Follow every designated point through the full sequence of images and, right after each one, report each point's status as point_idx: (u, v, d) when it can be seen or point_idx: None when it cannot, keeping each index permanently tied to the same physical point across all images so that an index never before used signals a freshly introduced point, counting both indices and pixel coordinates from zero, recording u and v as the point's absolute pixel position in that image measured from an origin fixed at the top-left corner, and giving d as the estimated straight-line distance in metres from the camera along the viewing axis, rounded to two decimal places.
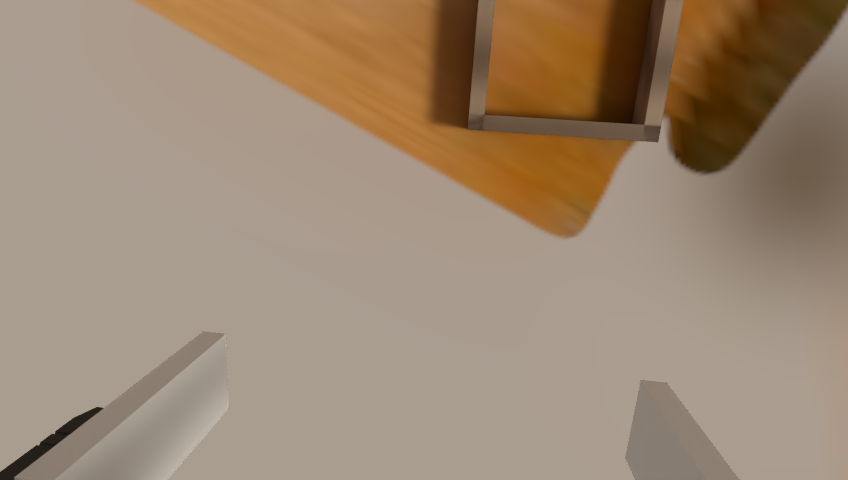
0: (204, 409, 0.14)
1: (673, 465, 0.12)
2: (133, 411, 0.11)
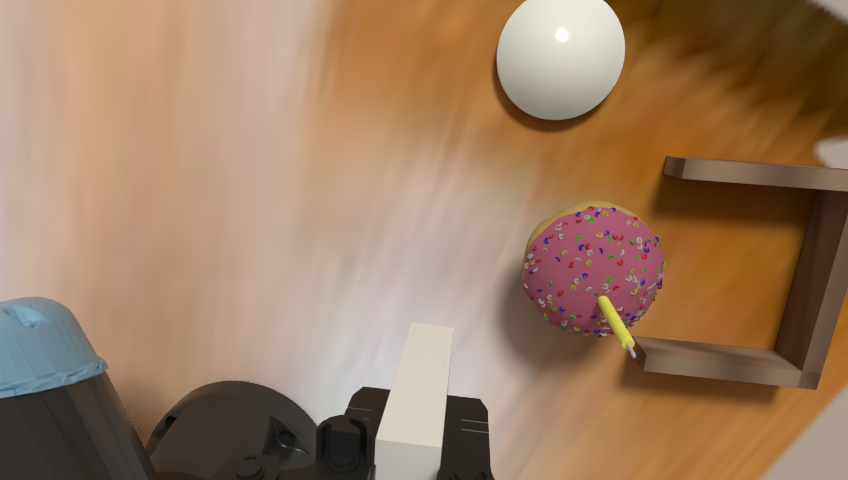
0: None
1: None
2: (418, 388, 0.13)
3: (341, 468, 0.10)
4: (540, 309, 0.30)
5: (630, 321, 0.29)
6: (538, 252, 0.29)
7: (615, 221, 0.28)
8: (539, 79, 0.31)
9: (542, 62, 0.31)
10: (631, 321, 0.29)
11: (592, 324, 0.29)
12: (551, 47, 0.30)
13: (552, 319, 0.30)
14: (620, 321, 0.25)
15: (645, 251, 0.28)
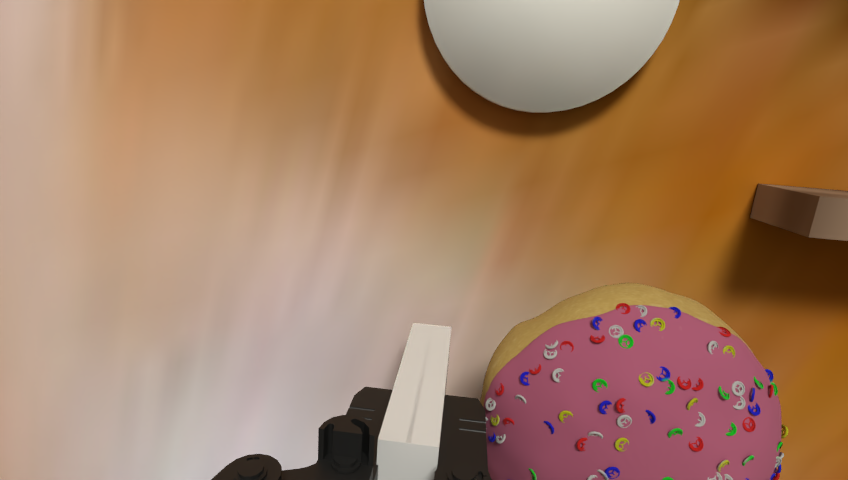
0: None
1: None
2: (420, 388, 0.13)
3: (343, 468, 0.10)
4: None
5: None
6: (508, 400, 0.13)
7: (681, 342, 0.12)
8: (508, 29, 0.15)
9: None
10: None
11: None
12: None
13: None
14: None
15: (751, 412, 0.12)
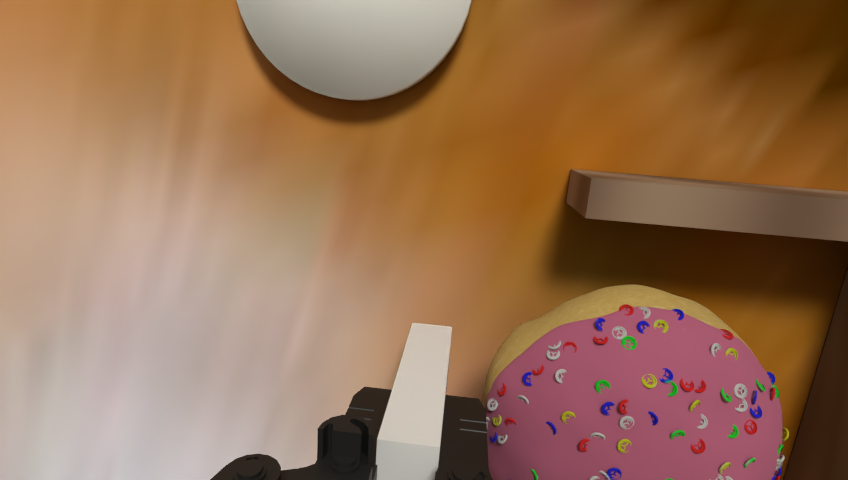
0: None
1: None
2: (419, 388, 0.13)
3: (342, 468, 0.10)
4: None
5: None
6: (510, 400, 0.13)
7: (684, 344, 0.12)
8: (316, 19, 0.16)
9: None
10: None
11: None
12: None
13: None
14: None
15: (753, 414, 0.12)
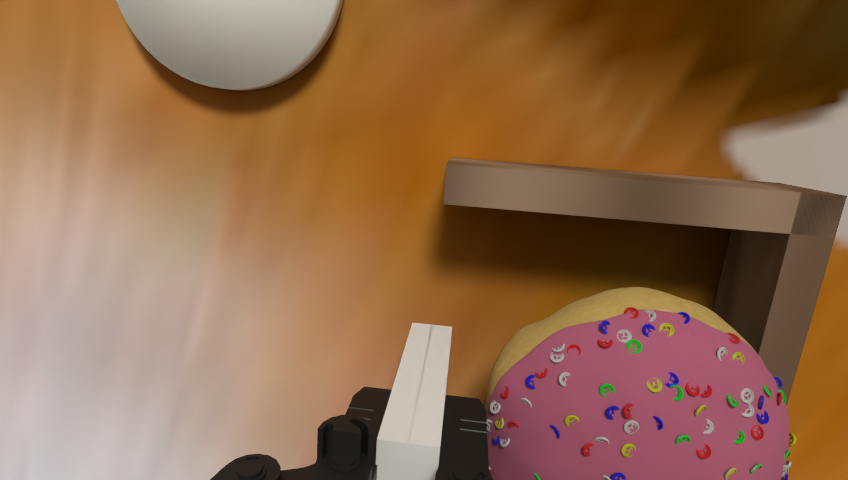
0: None
1: None
2: (419, 388, 0.13)
3: (343, 468, 0.10)
4: None
5: None
6: (513, 403, 0.13)
7: (690, 348, 0.12)
8: (190, 9, 0.16)
9: None
10: None
11: None
12: None
13: None
14: None
15: (760, 420, 0.12)
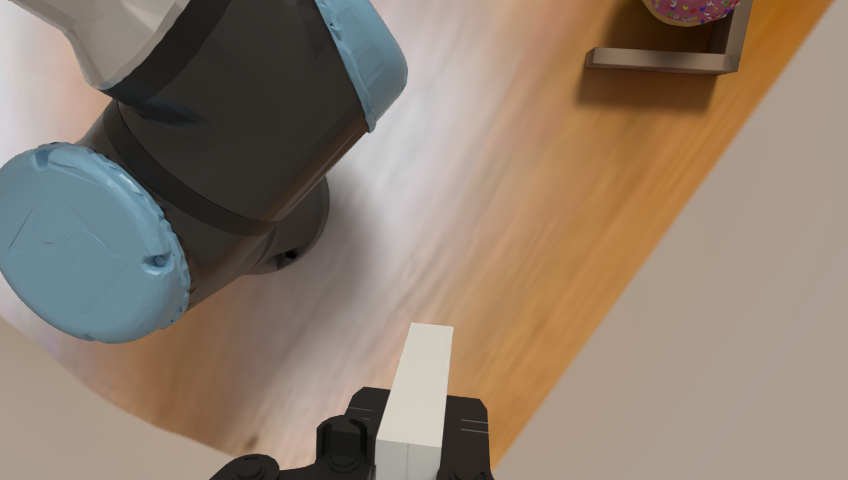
0: None
1: None
2: (419, 388, 0.13)
3: (341, 468, 0.10)
4: None
5: None
6: None
7: None
8: None
9: None
10: (732, 0, 0.34)
11: None
12: None
13: (662, 4, 0.35)
14: None
15: None
